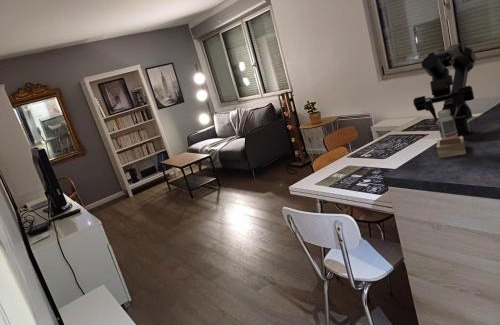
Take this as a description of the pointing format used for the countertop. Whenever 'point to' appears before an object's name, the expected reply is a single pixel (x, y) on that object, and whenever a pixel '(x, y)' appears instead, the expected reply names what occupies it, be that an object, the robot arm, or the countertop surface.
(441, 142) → the birch socket stand
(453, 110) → the robot arm
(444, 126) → the pill bottle
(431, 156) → the countertop surface
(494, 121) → the countertop surface
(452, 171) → the countertop surface
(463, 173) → the countertop surface
